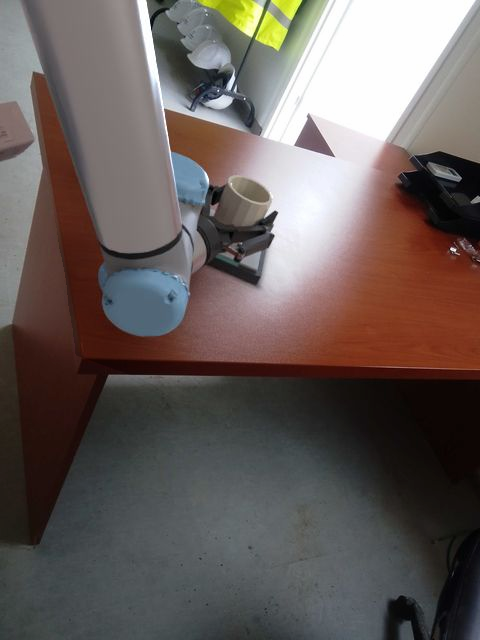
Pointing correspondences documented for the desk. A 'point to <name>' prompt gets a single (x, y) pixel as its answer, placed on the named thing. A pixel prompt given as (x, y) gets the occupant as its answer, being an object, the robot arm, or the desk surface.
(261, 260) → the kitchen scale
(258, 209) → the beige faceted cup
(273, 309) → the desk surface
